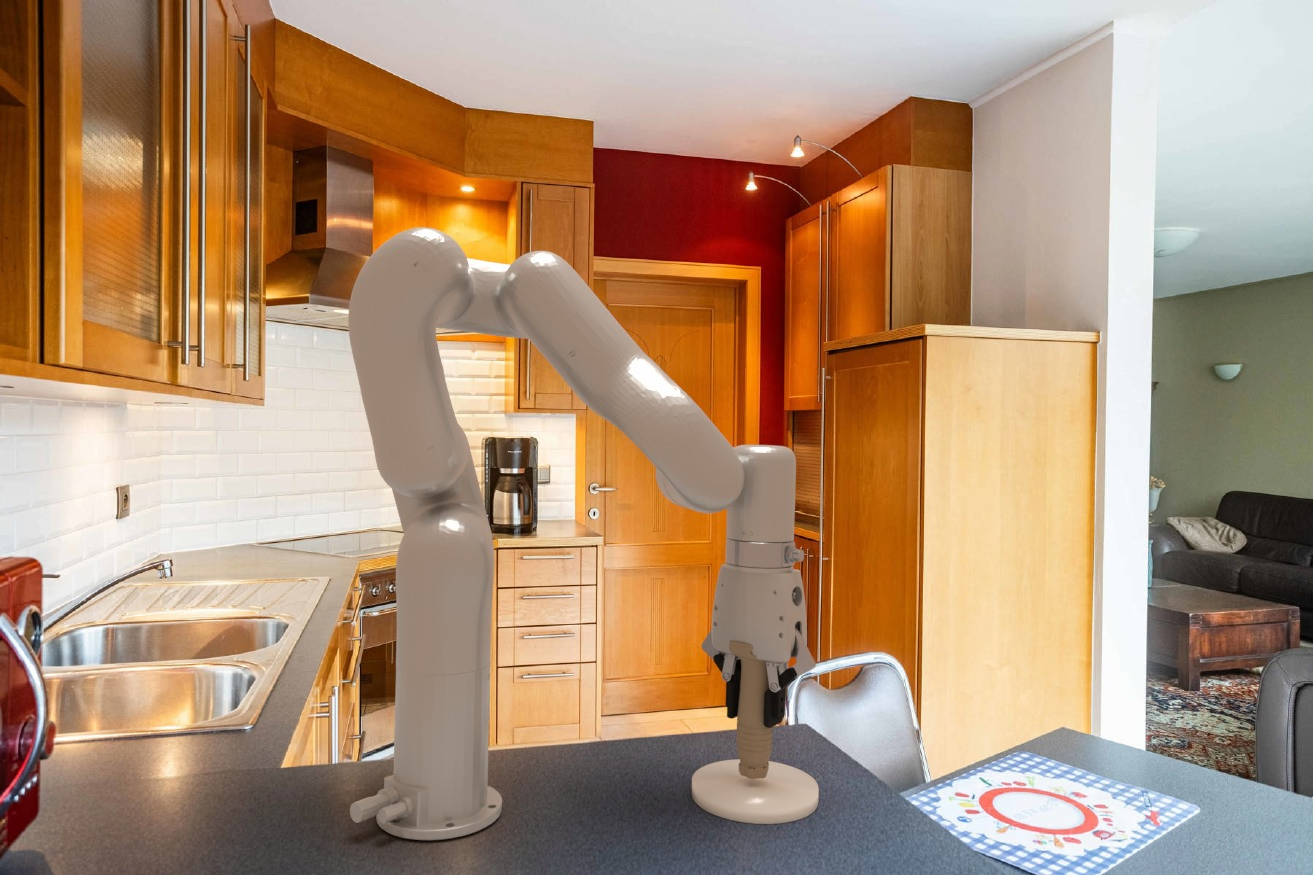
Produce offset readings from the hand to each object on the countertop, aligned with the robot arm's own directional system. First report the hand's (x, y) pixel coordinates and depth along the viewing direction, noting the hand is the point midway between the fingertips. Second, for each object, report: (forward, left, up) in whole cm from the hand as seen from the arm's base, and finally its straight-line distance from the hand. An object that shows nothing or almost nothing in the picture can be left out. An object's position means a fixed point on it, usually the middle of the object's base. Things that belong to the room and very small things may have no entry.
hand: (754, 718), depth 95 cm
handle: (0, 0, -6) cm, 6 cm away
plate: (0, 0, -9) cm, 9 cm away
